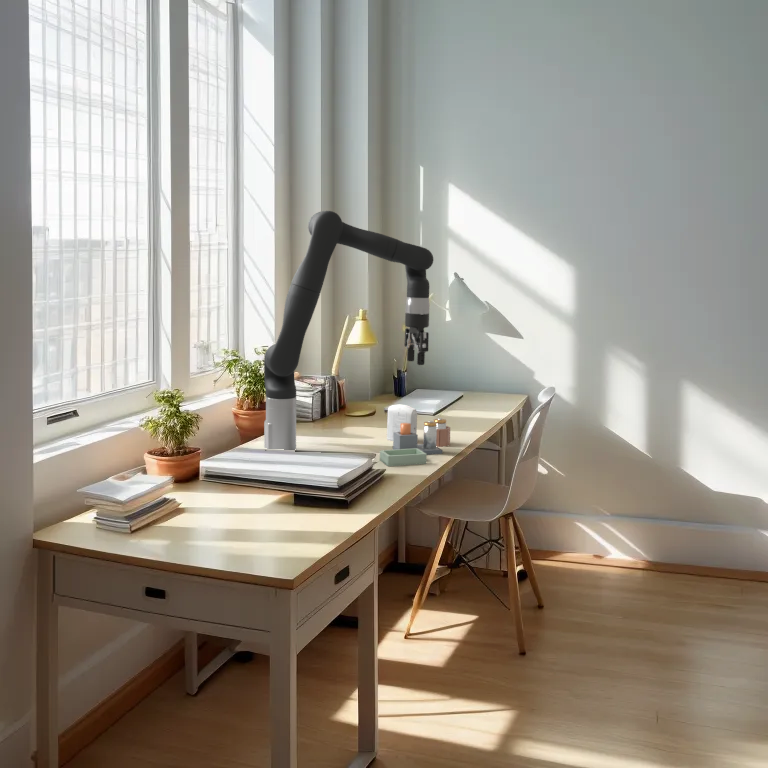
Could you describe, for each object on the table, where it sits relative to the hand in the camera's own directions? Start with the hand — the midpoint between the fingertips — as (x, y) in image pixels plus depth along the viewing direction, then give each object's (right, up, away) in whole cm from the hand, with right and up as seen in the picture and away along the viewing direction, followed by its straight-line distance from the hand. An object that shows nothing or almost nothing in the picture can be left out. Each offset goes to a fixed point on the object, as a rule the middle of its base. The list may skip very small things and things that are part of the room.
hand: (415, 363), depth 281 cm
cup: (+8, -27, +5) cm, 28 cm away
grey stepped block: (0, -28, -6) cm, 29 cm away
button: (-3, -24, -6) cm, 25 cm away
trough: (-4, -30, -18) cm, 35 cm away
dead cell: (+8, -26, +5) cm, 28 cm away
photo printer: (-4, -26, +9) cm, 28 cm away
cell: (+4, -27, -6) cm, 28 cm away
